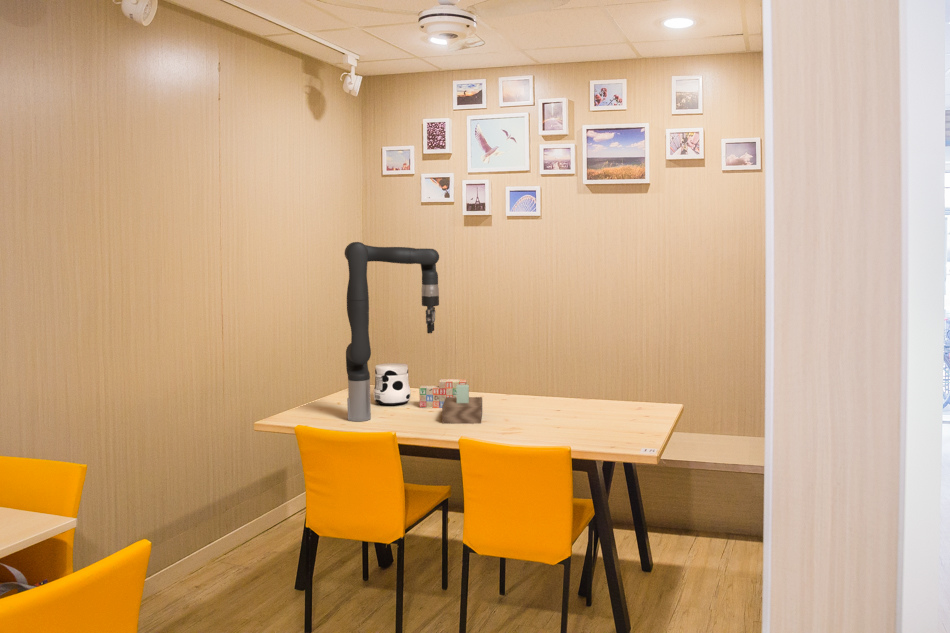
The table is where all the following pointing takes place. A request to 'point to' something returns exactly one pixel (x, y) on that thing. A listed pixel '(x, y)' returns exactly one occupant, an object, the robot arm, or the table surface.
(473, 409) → the block
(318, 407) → the table surface
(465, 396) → the sage block
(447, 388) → the stack of blocks
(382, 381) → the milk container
